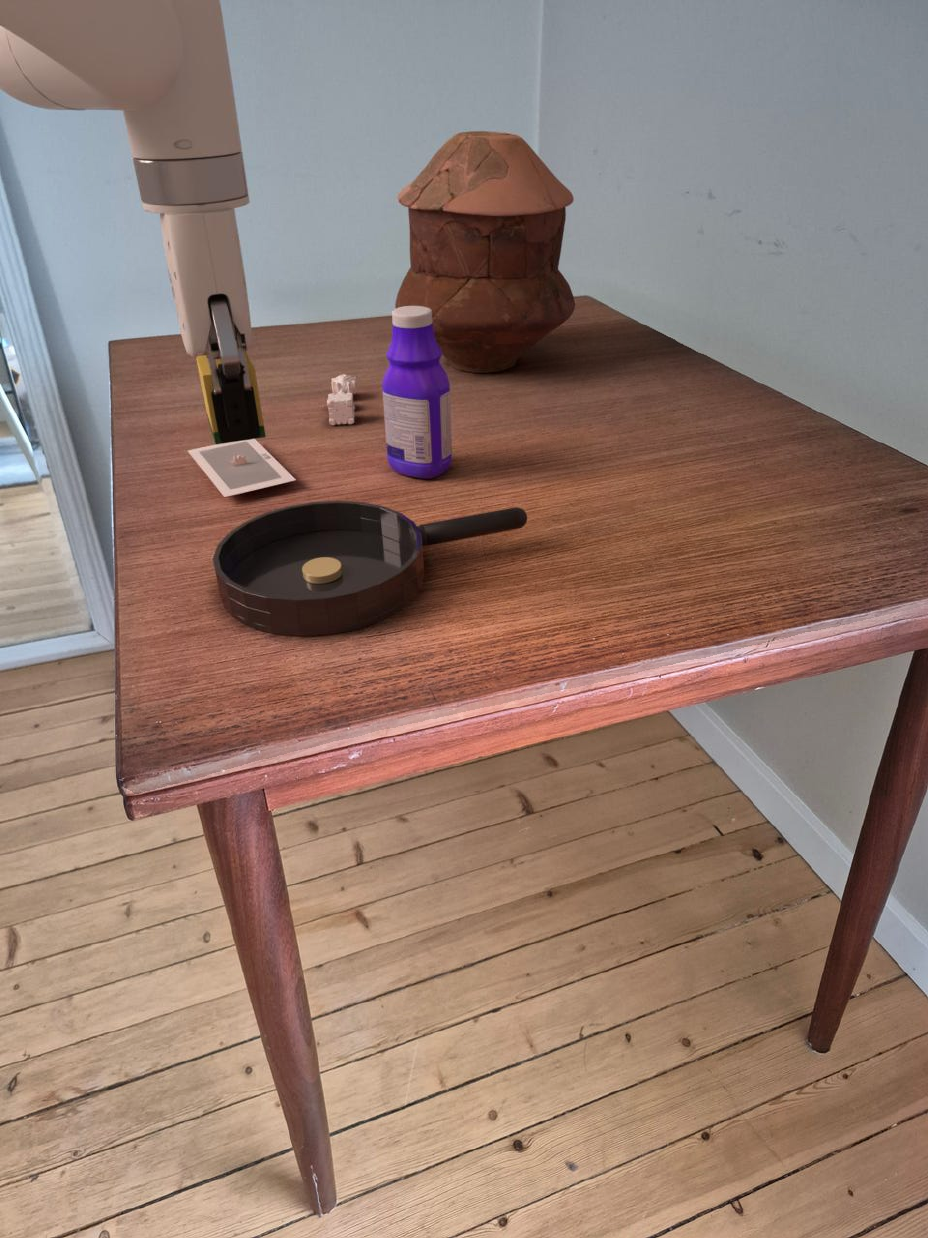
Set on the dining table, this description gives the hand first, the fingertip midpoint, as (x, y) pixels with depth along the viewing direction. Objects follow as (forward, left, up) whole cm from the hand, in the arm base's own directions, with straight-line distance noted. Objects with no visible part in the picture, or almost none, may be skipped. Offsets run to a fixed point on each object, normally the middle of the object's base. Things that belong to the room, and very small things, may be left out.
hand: (235, 424), depth 74 cm
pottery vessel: (+40, +51, -14) cm, 66 cm away
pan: (+5, -3, -14) cm, 15 cm away
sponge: (0, 0, 0) cm, 0 cm away
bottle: (+20, +17, -14) cm, 30 cm away
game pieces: (+16, +40, -14) cm, 45 cm away
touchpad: (+1, +24, -14) cm, 28 cm away
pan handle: (+19, -3, -13) cm, 23 cm away
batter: (+5, -3, -14) cm, 15 cm away
